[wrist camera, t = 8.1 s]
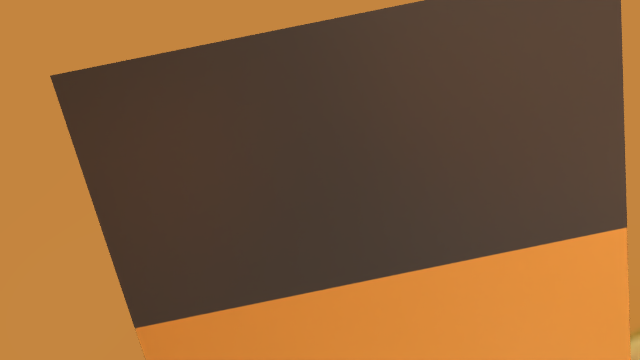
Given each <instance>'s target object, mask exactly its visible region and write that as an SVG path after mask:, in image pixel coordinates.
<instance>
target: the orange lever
mask: <svg viewBox="0 0 640 360" xmlns="http://www.w3.org/2000/svg"><path fill="white" fill-rule="evenodd" d="M50 77H51V79H52V82H53V85H54V88H55V91H56V94H57V97H58V100H59V103H60V106H61V109H62V112H63V115H64V118H65V121H66V124H67V127H68V130H69V133H70V136H71V139H72V142H73V145H74V148H75V151H76V154H77V157H78V160H79V163H80V166H81V169H82V172H83V175H84V178H85V181H86V184H87V187H88V190H89V193H90V196H91V198H92V201H93V205H94V208H95V211H96V214H97V216H98V219H99V223H100V226H101V228H102V232H103V235H104V237H105V240H106V243H107V246H108V249H109V252H110V255H111V258H112V261H113V264H114V267H115V270H116V273H117V276H118V279H119V282H120V285H121V288H122V291H123V294H124V297H125V300H126V303H127V306H128V309H129V312H130V315H131V318H132V321H133V324H134V327H135V330H136V333H137V336H138V339H139V342H140V345H141V348H142V351H143V354H144V357H145V360H631V355H630V319H629V282H628V246H627V210H626V176H625V175H626V173H625V140H624V138H625V137H624V101H623V65H622V28H621V0H424V1H419V2H414V3H409V4H404V5H399V6H395V7H389V8H384V9H380V10H375V11H370V12H365V13H360V14H355V15H350V16H345V17H340V18H335V19H331V20H325V21H320V22H315V23H310V24H305V25H300V26H295V27H290V28H285V29H280V30H275V31H271V32H266V33H260V34H255V35H250V36H245V37H241V38H236V39H231V40H226V41H221V42H216V43H211V44H206V45H201V46H196V47H191V48H186V49H181V50H176V51H171V52H166V53H161V54H157V55H151V56H146V57H141V58H136V59H131V60H126V61H121V62H116V63H111V64H107V65H102V66H97V67H92V68H87V69H82V70H77V71H72V72H67V73H62V74H57V75H52V76H50Z"/></svg>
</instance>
